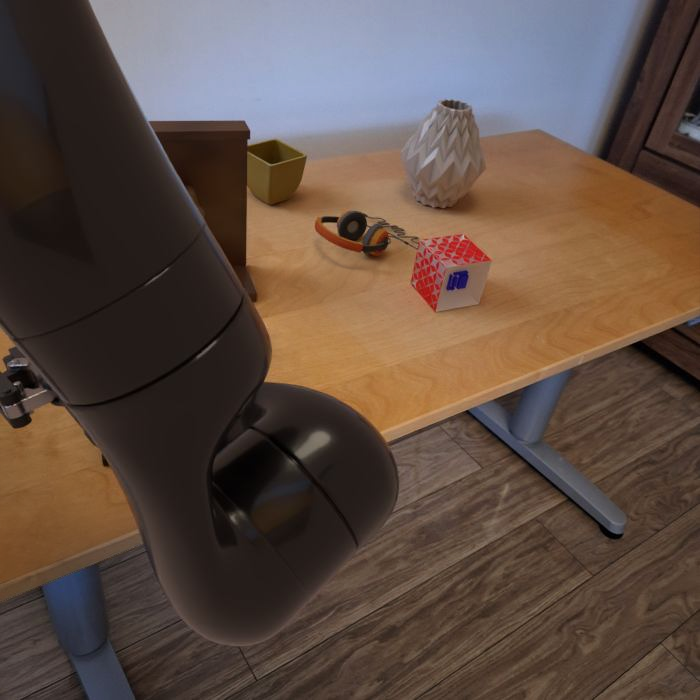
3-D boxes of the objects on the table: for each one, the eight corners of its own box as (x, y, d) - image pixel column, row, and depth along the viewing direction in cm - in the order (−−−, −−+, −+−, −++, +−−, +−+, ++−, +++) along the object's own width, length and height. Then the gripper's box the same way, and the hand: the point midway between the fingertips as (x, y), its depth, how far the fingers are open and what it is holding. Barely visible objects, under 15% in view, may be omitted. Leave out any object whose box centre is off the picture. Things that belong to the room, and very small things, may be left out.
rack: (141, 313, 84) (121, 152, 70) (135, 273, 91) (116, 119, 77) (257, 301, 89) (261, 149, 75) (242, 264, 96) (243, 118, 82)
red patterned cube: (452, 277, 101) (463, 234, 96) (478, 304, 96) (492, 260, 91) (409, 283, 98) (419, 239, 93) (434, 312, 93) (445, 267, 88)
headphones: (446, 237, 105) (367, 243, 92) (435, 265, 108) (356, 274, 94) (378, 198, 114) (297, 198, 100) (370, 224, 117) (289, 228, 103)
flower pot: (305, 201, 116) (308, 154, 110) (269, 213, 110) (271, 165, 105) (274, 183, 120) (276, 137, 114) (238, 194, 115) (238, 147, 109)
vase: (420, 174, 132) (438, 84, 120) (488, 202, 125) (514, 109, 113) (377, 196, 121) (392, 99, 109) (449, 227, 114) (473, 128, 102)
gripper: (225, 299, 40) (139, 266, 53) (-8, 392, 33) (-44, 328, 45) (253, 398, 43) (165, 345, 56) (45, 502, 36) (-2, 415, 49)
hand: (71, 338), depth 51 cm, fingers open, 8 cm apart
